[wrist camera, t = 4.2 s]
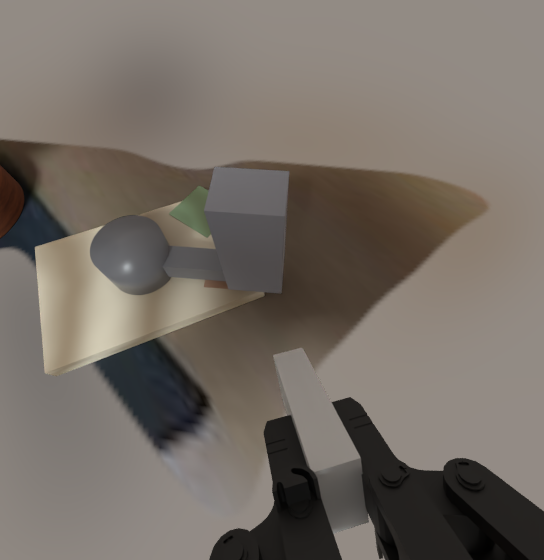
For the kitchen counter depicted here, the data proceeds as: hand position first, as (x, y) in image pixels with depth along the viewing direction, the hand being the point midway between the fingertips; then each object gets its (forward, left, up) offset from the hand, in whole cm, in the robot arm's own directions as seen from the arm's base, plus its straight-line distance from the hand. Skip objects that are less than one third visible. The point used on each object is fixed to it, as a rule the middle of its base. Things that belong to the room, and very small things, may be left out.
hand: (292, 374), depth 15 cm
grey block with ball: (-11, +1, -5) cm, 12 cm away
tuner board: (-14, -1, -7) cm, 16 cm away
